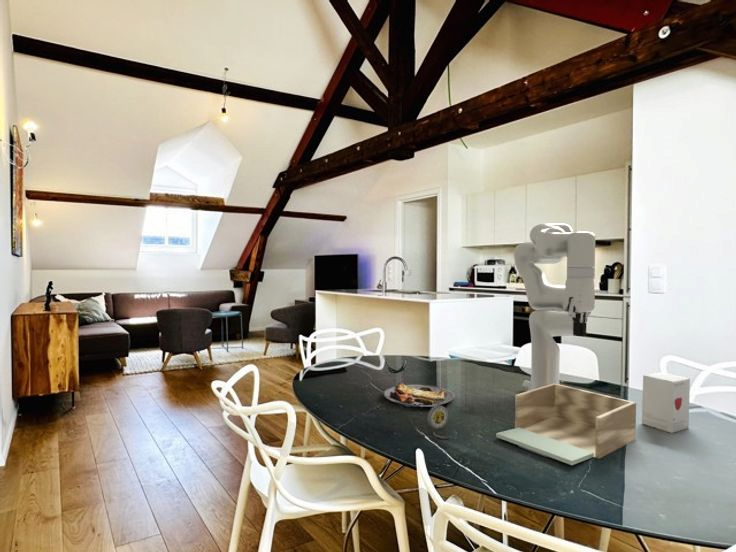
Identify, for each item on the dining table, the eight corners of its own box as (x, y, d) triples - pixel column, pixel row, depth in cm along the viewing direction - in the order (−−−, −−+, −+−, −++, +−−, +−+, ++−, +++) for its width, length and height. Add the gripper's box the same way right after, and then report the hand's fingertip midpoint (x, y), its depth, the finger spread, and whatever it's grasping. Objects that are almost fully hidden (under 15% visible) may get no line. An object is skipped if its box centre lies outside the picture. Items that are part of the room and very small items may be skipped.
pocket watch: (451, 442, 125) (451, 406, 124) (423, 436, 129) (423, 401, 129) (462, 432, 132) (462, 398, 131) (435, 426, 136) (435, 393, 136)
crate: (514, 432, 131) (515, 394, 131) (553, 418, 143) (553, 383, 143) (599, 462, 112) (600, 418, 112) (635, 442, 124) (636, 402, 124)
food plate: (372, 402, 158) (372, 392, 158) (399, 386, 179) (399, 377, 179) (441, 416, 147) (441, 405, 147) (461, 397, 168) (462, 387, 167)
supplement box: (672, 434, 130) (673, 381, 130) (640, 423, 138) (641, 374, 137) (689, 428, 134) (691, 378, 134) (658, 419, 142) (659, 371, 142)
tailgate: (518, 433, 130) (495, 439, 124) (518, 427, 130) (496, 433, 124) (593, 459, 113) (571, 467, 107) (593, 452, 113) (572, 461, 107)
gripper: (581, 273, 143) (580, 331, 143) (554, 274, 134) (554, 336, 134) (605, 273, 137) (604, 334, 137) (579, 274, 128) (578, 340, 128)
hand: (579, 335), depth 136 cm, fingers closed
